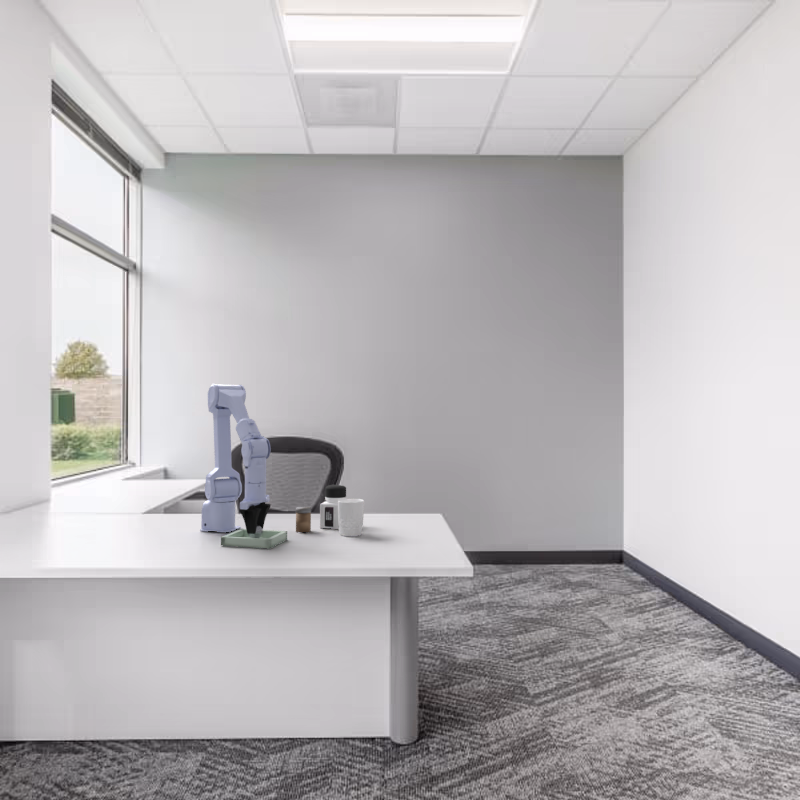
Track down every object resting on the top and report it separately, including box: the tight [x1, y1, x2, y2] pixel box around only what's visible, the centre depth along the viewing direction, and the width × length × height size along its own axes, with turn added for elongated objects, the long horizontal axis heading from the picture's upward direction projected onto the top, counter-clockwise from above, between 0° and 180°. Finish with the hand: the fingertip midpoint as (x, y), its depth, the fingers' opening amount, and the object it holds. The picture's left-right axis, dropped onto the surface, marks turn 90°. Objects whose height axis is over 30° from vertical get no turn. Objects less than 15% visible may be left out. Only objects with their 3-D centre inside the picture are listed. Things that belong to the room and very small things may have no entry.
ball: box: [248, 525, 264, 538], centre depth 175 cm, size 4×4×4 cm
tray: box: [220, 528, 288, 550], centre depth 175 cm, size 14×12×2 cm
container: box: [319, 484, 347, 530], centre depth 200 cm, size 8×8×13 cm
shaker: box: [295, 506, 312, 534], centre depth 192 cm, size 5×5×7 cm
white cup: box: [338, 498, 365, 537], centre depth 188 cm, size 8×8×10 cm
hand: (254, 531), depth 175 cm, fingers closed on ball, 4 cm apart
